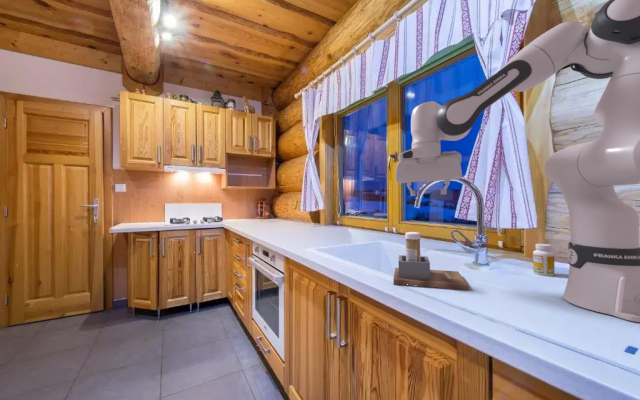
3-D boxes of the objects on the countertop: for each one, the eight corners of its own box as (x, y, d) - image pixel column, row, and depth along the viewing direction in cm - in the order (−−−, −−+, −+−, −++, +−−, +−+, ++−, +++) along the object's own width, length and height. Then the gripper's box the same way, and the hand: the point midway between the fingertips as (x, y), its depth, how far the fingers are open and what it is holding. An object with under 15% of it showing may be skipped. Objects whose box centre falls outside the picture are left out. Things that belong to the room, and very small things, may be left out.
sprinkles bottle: (424, 275, 84) (423, 232, 84) (414, 277, 82) (414, 234, 82) (412, 271, 88) (411, 231, 88) (402, 274, 86) (402, 232, 86)
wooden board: (458, 275, 88) (458, 270, 88) (467, 290, 74) (467, 283, 74) (395, 271, 94) (395, 266, 94) (393, 284, 80) (393, 278, 80)
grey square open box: (427, 271, 88) (427, 256, 88) (430, 279, 80) (429, 263, 80) (399, 269, 91) (399, 255, 91) (398, 277, 82) (398, 261, 82)
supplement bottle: (552, 273, 89) (552, 243, 89) (556, 277, 84) (555, 246, 84) (532, 270, 92) (531, 242, 92) (534, 274, 87) (534, 245, 87)
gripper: (458, 151, 88) (460, 193, 88) (394, 157, 94) (396, 196, 94) (463, 148, 82) (465, 193, 82) (394, 154, 88) (396, 196, 88)
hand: (428, 195), depth 88 cm, fingers open, 8 cm apart
